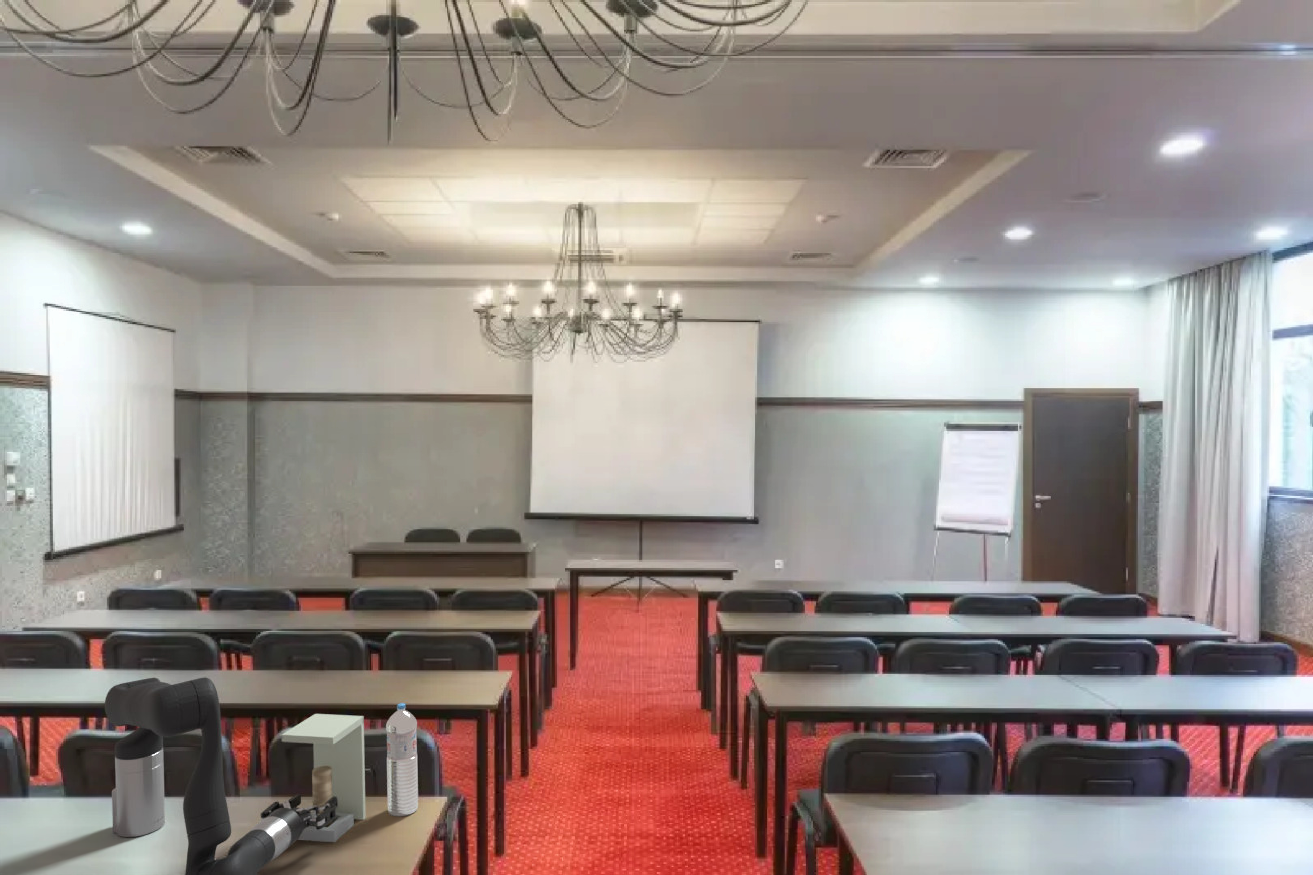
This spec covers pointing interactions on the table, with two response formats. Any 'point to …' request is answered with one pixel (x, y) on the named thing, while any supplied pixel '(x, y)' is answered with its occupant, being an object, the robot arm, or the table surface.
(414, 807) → the water bottle
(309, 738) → the socket stand
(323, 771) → the peg
